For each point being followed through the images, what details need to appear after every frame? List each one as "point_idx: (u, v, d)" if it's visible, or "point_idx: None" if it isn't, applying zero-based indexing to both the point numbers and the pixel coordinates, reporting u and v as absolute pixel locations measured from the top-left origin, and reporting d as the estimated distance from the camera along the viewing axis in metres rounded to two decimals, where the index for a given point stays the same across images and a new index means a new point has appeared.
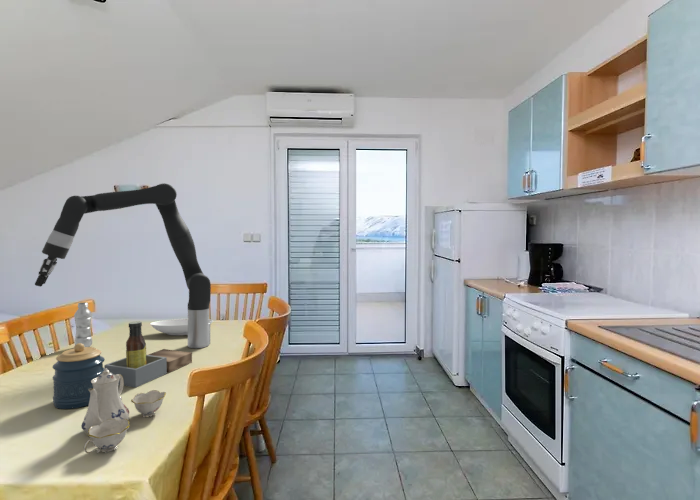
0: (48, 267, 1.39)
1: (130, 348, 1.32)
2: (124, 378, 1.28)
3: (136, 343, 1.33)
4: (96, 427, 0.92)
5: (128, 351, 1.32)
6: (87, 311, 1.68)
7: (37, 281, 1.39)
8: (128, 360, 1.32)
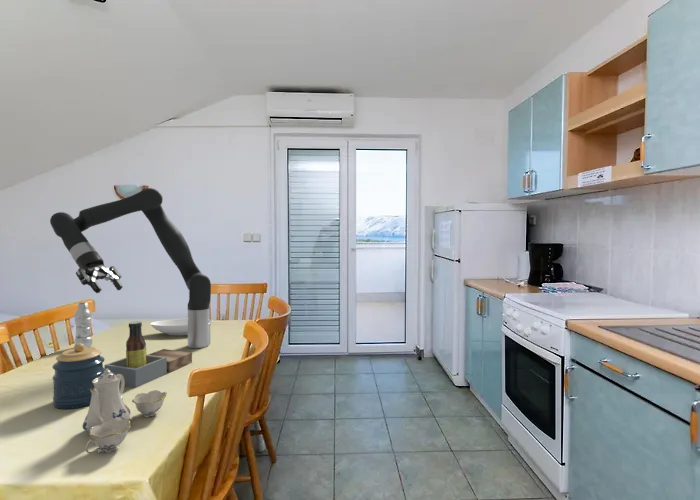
0: (81, 274, 1.32)
1: (130, 348, 1.32)
2: (124, 378, 1.28)
3: (136, 343, 1.33)
4: (97, 427, 0.92)
5: (128, 351, 1.32)
6: (87, 311, 1.68)
7: (93, 289, 1.33)
8: (128, 360, 1.32)
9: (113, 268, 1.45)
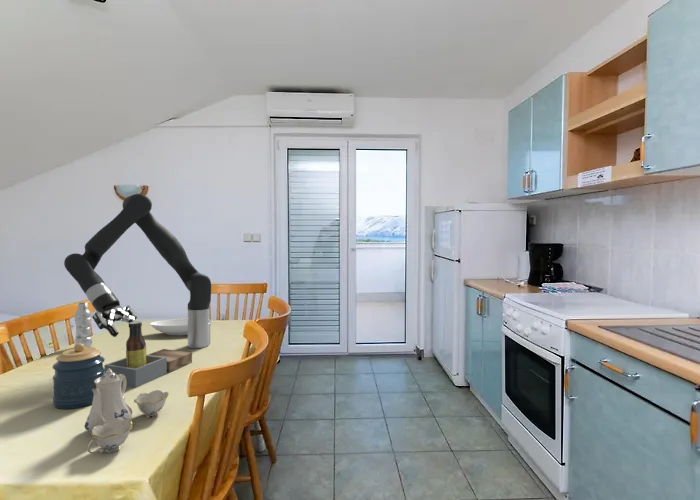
0: (98, 318, 1.31)
1: (130, 348, 1.32)
2: None
3: (136, 343, 1.33)
4: (99, 427, 0.92)
5: (128, 351, 1.32)
6: (87, 311, 1.68)
7: (110, 333, 1.32)
8: (128, 360, 1.32)
9: (129, 308, 1.43)
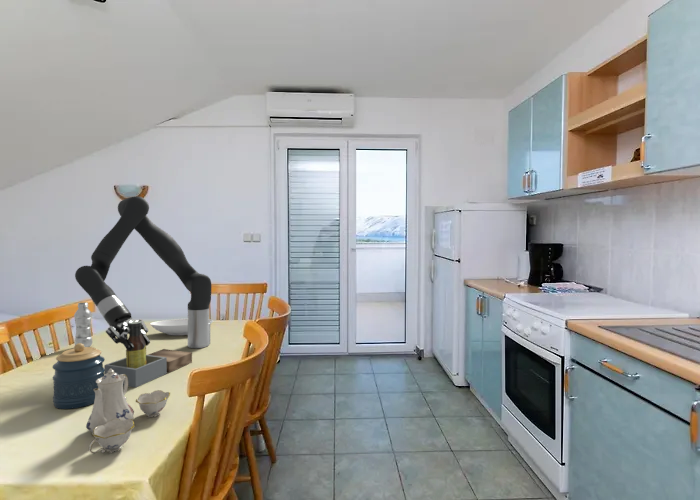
0: (113, 333, 1.30)
1: None
2: None
3: (136, 343, 1.33)
4: (101, 427, 0.92)
5: (128, 351, 1.32)
6: (87, 311, 1.68)
7: (126, 347, 1.31)
8: (128, 360, 1.32)
9: (141, 321, 1.42)
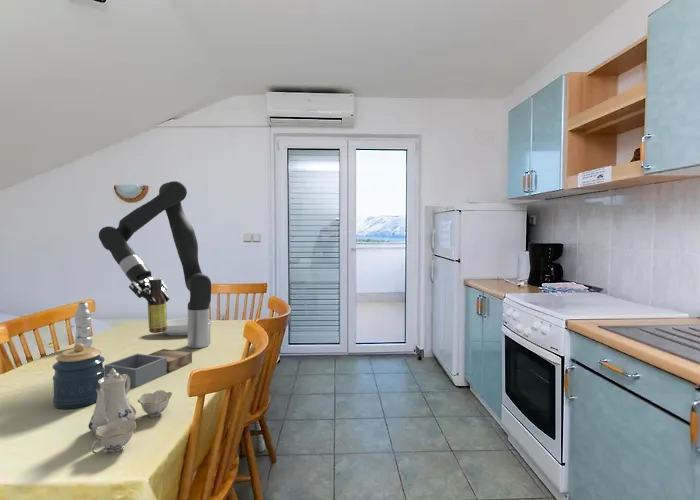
0: (136, 288, 1.38)
1: None
2: None
3: (157, 298, 1.41)
4: (103, 427, 0.92)
5: (150, 305, 1.41)
6: (87, 311, 1.68)
7: (148, 301, 1.39)
8: (150, 313, 1.41)
9: None
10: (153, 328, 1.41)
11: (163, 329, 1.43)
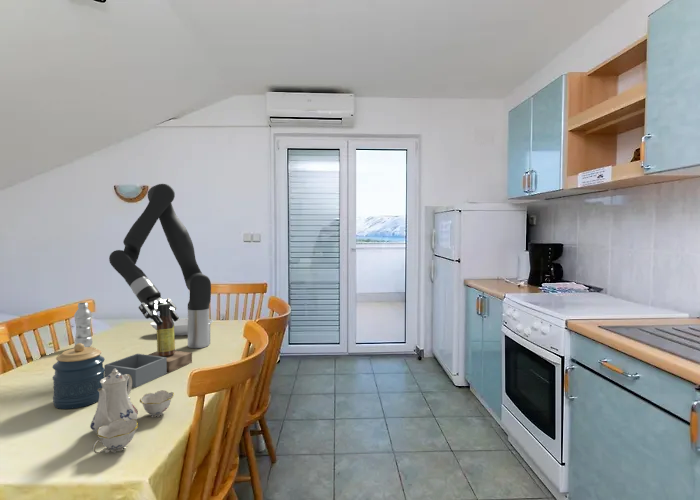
0: (144, 309, 1.42)
1: (160, 327, 1.46)
2: None
3: (166, 322, 1.47)
4: (105, 427, 0.92)
5: (159, 329, 1.46)
6: (87, 311, 1.68)
7: (155, 322, 1.43)
8: (158, 337, 1.46)
9: (169, 300, 1.55)
10: (162, 351, 1.46)
11: (171, 352, 1.48)
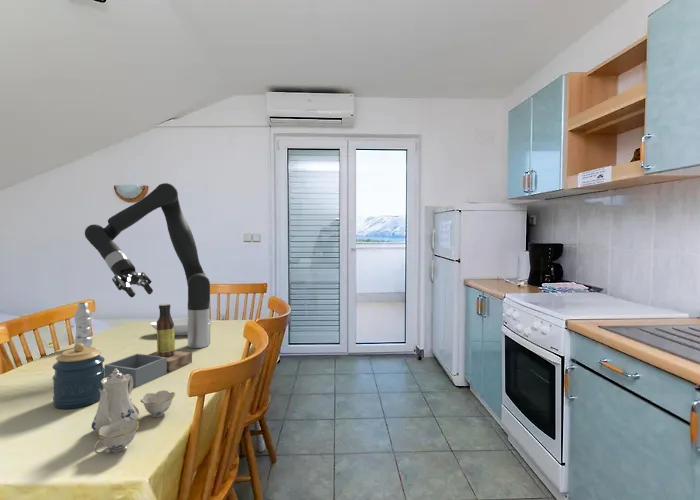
0: (117, 280, 1.46)
1: (160, 328, 1.46)
2: None
3: (166, 323, 1.46)
4: (106, 427, 0.92)
5: (159, 330, 1.46)
6: (87, 311, 1.68)
7: None
8: (158, 338, 1.46)
9: (143, 274, 1.58)
10: (162, 352, 1.46)
11: (171, 353, 1.47)
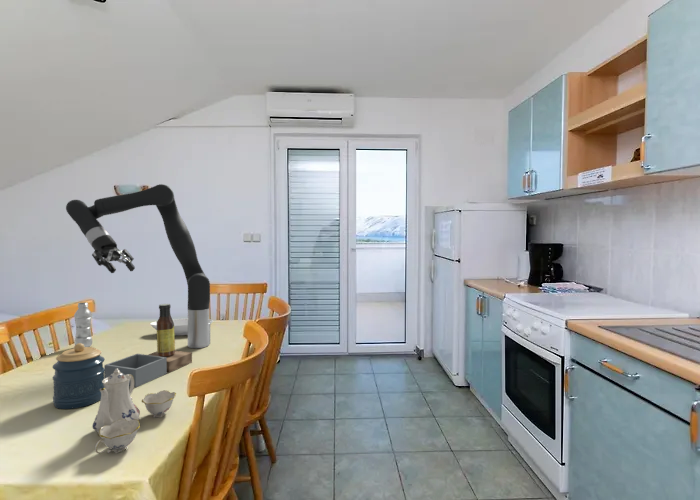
0: (97, 256, 1.43)
1: (160, 328, 1.46)
2: None
3: (166, 323, 1.46)
4: (107, 427, 0.92)
5: (159, 330, 1.46)
6: (87, 311, 1.68)
7: (108, 269, 1.44)
8: (158, 338, 1.46)
9: (125, 251, 1.56)
10: (162, 352, 1.46)
11: (171, 353, 1.47)
